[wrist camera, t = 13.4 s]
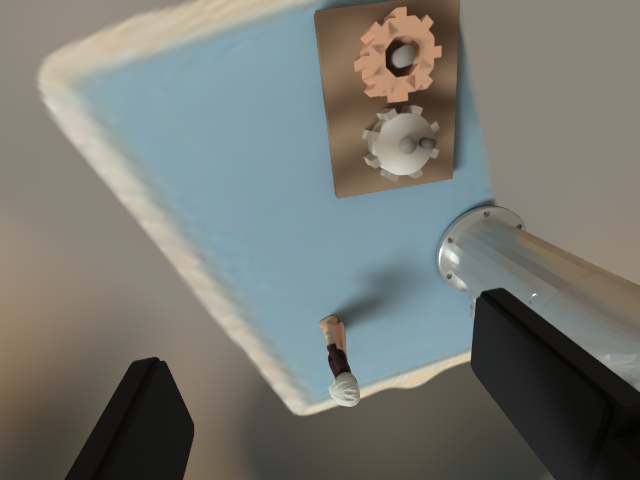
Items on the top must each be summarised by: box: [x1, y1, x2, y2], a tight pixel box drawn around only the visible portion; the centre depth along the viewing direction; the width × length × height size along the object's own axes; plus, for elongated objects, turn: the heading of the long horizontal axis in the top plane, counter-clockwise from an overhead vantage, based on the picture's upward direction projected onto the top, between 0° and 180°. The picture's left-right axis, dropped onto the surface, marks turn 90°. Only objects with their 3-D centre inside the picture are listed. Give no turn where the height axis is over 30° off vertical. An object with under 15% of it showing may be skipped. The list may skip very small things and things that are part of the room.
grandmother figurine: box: [319, 316, 360, 406], centre depth 38 cm, size 8×4×13 cm, turn 26°
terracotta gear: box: [354, 7, 442, 103], centre depth 29 cm, size 7×7×3 cm
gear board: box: [314, 0, 460, 198], centre depth 31 cm, size 18×14×6 cm
